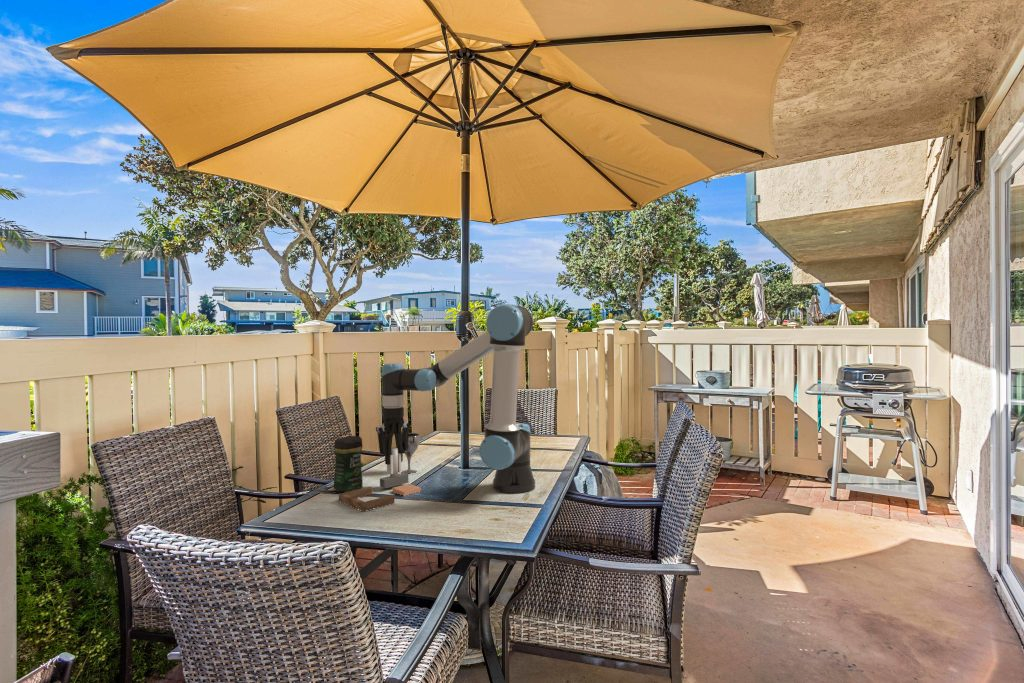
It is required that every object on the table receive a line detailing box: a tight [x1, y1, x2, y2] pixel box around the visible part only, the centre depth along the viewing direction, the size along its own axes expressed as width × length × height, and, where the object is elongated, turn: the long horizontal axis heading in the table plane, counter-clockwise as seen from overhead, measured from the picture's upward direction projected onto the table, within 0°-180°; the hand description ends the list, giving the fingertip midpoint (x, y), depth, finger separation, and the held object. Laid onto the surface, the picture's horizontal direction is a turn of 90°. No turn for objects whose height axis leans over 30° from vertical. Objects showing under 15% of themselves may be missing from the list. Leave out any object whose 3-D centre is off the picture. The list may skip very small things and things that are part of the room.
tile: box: [391, 483, 422, 497], centre depth 190 cm, size 7×7×2 cm
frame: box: [338, 486, 395, 512], centre depth 179 cm, size 15×12×2 cm
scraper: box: [379, 447, 409, 489], centre depth 195 cm, size 10×3×13 cm, turn 136°
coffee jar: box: [333, 435, 364, 493], centre depth 194 cm, size 10×8×19 cm
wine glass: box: [401, 432, 420, 474], centre depth 216 cm, size 8×8×15 cm
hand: (394, 472), depth 195 cm, fingers closed on scraper, 3 cm apart
